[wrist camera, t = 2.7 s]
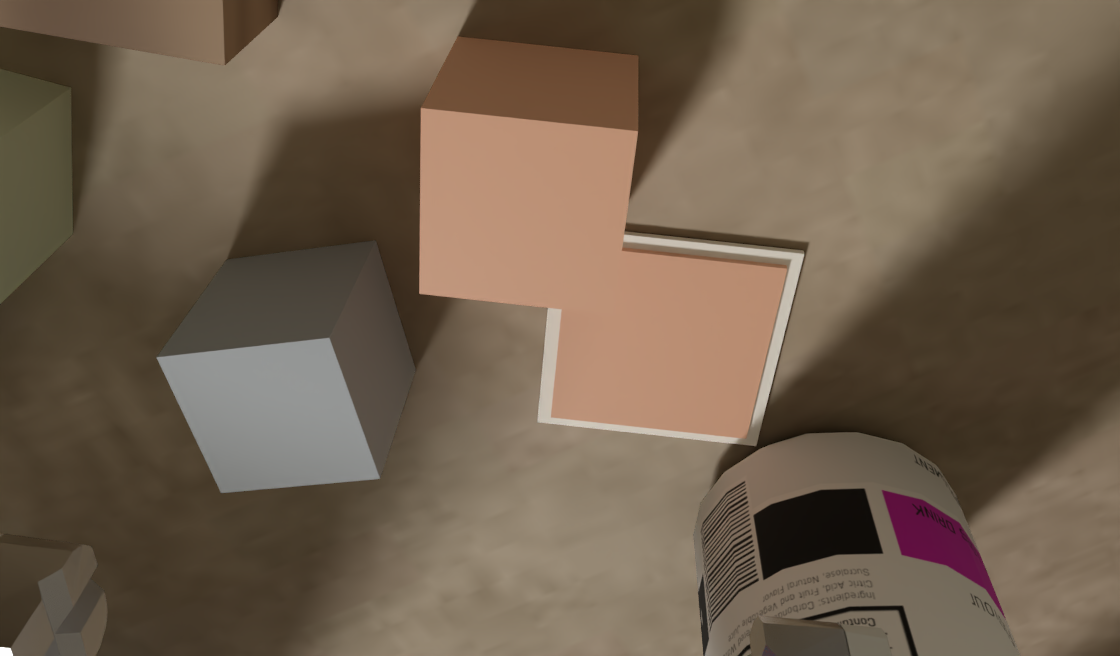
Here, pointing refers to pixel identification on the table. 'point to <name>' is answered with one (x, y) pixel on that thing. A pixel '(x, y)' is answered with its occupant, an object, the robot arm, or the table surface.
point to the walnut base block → (148, 24)
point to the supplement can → (844, 549)
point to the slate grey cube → (293, 368)
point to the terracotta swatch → (674, 342)
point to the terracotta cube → (527, 174)
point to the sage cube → (33, 175)
